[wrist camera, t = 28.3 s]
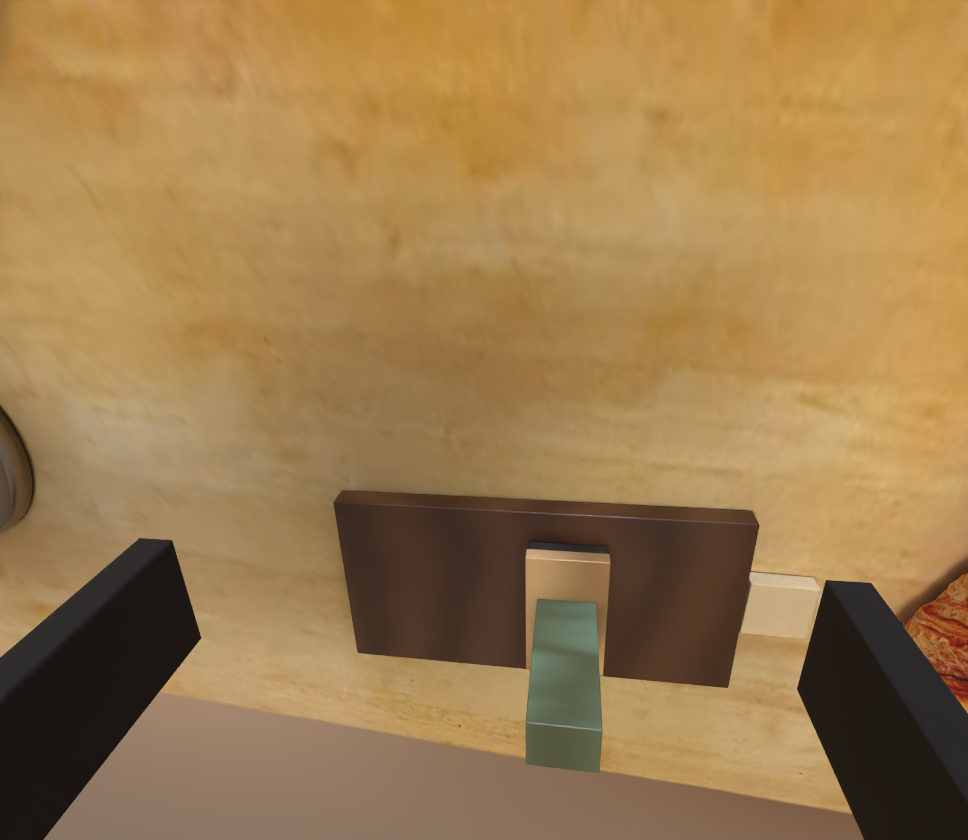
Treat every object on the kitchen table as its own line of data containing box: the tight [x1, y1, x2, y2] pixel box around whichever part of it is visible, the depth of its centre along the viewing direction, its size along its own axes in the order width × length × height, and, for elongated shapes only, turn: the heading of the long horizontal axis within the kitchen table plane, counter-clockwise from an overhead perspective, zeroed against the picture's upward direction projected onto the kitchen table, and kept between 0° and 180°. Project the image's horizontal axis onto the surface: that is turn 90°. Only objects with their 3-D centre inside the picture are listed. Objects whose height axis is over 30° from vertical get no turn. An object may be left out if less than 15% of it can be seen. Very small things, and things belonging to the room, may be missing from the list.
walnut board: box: [334, 491, 759, 688], centre depth 38 cm, size 26×13×2 cm, turn 92°
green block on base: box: [525, 542, 611, 773], centre depth 32 cm, size 5×9×10 cm, turn 2°
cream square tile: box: [739, 572, 820, 640], centre depth 36 cm, size 4×4×1 cm
